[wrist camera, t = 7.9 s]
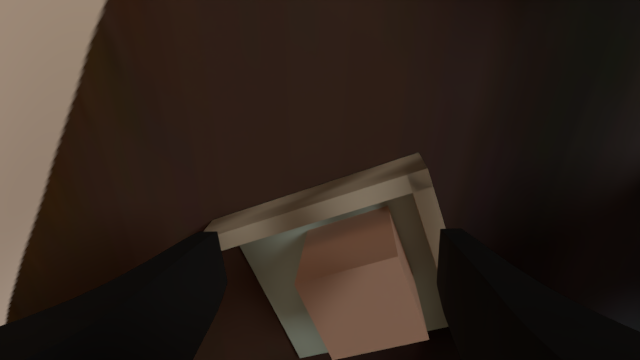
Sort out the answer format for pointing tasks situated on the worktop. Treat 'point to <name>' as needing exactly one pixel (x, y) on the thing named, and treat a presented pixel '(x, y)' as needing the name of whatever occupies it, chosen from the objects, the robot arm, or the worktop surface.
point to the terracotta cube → (360, 286)
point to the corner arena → (327, 207)
